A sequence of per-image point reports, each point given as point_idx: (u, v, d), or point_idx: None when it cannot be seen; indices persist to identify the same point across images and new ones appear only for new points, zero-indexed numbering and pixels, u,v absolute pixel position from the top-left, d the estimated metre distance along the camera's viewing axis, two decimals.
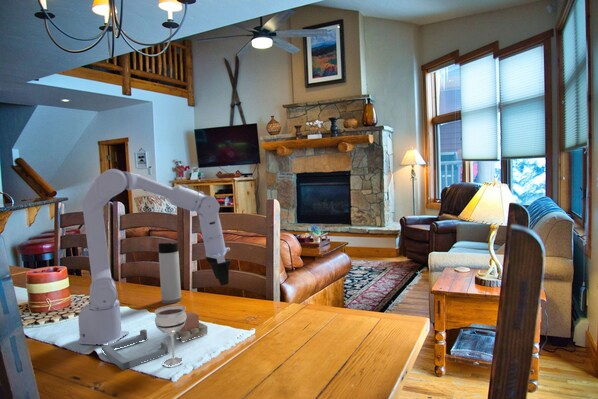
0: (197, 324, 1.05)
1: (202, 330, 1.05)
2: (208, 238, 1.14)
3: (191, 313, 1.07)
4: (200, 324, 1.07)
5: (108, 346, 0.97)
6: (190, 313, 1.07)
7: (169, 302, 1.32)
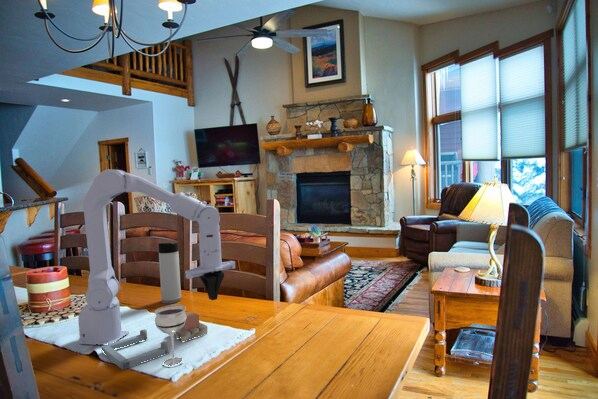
0: (197, 324, 1.06)
1: (202, 330, 1.05)
2: None
3: (191, 313, 1.07)
4: (200, 324, 1.07)
5: (108, 346, 0.97)
6: (190, 313, 1.07)
7: (169, 302, 1.32)
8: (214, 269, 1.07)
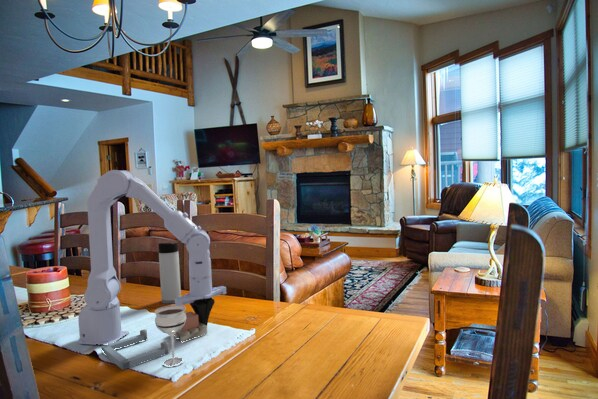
0: (197, 324, 1.05)
1: (201, 330, 1.05)
2: (189, 276, 1.08)
3: (191, 313, 1.07)
4: (199, 324, 1.07)
5: (108, 346, 0.97)
6: (190, 313, 1.07)
7: (169, 302, 1.32)
8: (204, 296, 1.05)
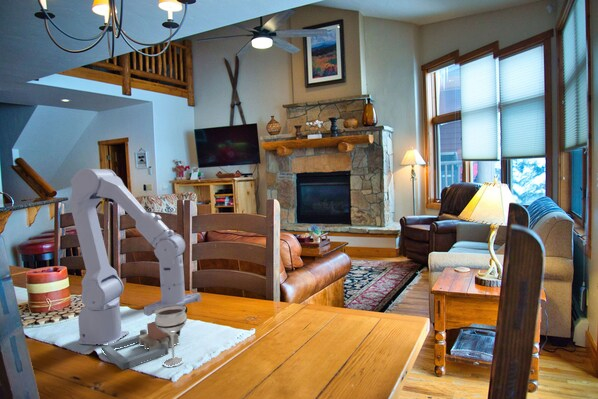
0: None
1: None
2: None
3: None
4: None
5: (108, 346, 0.97)
6: None
7: None
8: (175, 304, 1.00)
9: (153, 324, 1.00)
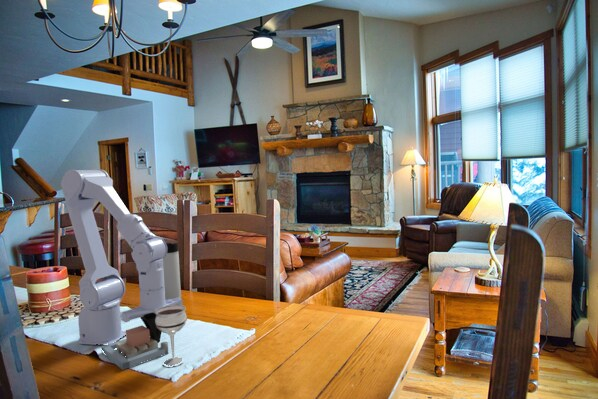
0: (148, 339, 0.96)
1: (151, 347, 0.95)
2: None
3: (142, 327, 0.98)
4: (150, 340, 0.98)
5: (108, 346, 0.97)
6: (141, 327, 0.98)
7: None
8: (155, 310, 0.96)
9: (131, 330, 0.96)
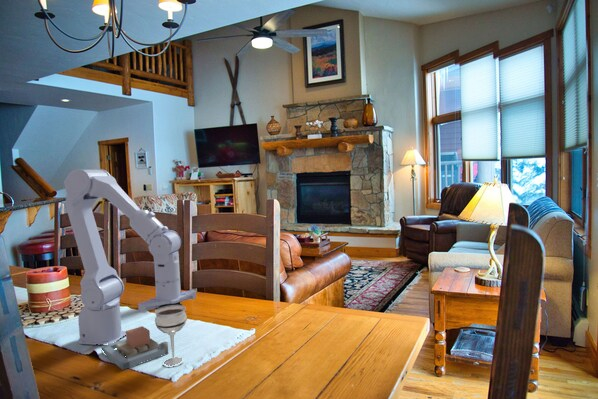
0: (148, 340, 0.96)
1: (151, 347, 0.95)
2: None
3: (142, 328, 0.98)
4: (150, 340, 0.98)
5: (108, 346, 0.97)
6: (141, 328, 0.98)
7: None
8: (170, 301, 0.99)
9: (131, 331, 0.96)
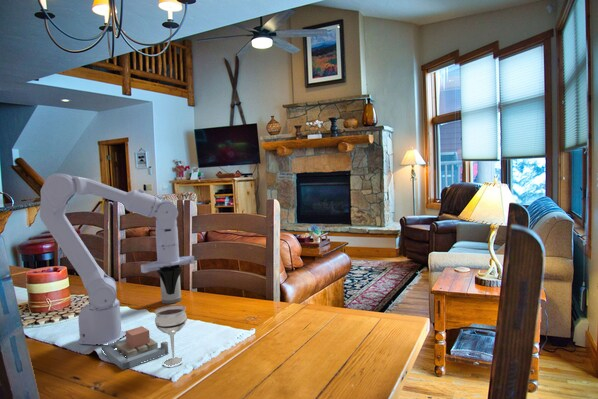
0: (147, 340, 0.96)
1: (151, 347, 0.95)
2: None
3: (142, 328, 0.98)
4: (150, 340, 0.98)
5: (108, 346, 0.97)
6: (141, 328, 0.98)
7: (169, 302, 1.32)
8: (170, 263, 1.07)
9: (131, 331, 0.96)
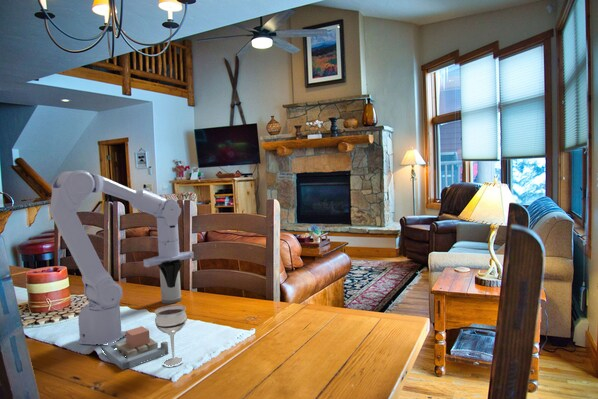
0: (147, 340, 0.96)
1: (151, 347, 0.95)
2: None
3: (142, 328, 0.98)
4: (150, 340, 0.98)
5: (108, 346, 0.97)
6: (141, 328, 0.98)
7: (169, 302, 1.32)
8: (171, 258, 1.14)
9: (131, 331, 0.96)
